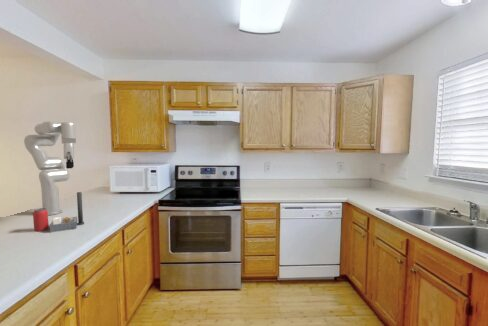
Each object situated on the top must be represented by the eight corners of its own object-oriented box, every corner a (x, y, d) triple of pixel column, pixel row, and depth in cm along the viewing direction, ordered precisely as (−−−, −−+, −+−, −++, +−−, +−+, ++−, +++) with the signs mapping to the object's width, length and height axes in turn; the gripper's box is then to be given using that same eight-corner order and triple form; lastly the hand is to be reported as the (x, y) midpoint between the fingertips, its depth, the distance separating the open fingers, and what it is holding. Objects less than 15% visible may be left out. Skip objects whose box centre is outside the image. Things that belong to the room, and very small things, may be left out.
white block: (54, 222, 142) (54, 217, 142) (60, 221, 143) (60, 216, 143) (53, 224, 138) (53, 219, 138) (60, 223, 140) (59, 218, 140)
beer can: (31, 232, 138) (30, 211, 137) (37, 228, 144) (36, 208, 143) (45, 231, 139) (44, 210, 138) (51, 227, 146) (49, 207, 145)
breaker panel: (53, 226, 148) (52, 217, 147) (77, 222, 154) (76, 214, 154) (50, 232, 138) (49, 222, 137) (76, 228, 144) (75, 219, 143)
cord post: (77, 223, 152) (75, 192, 151) (84, 222, 154) (82, 191, 153) (77, 225, 149) (75, 193, 148) (84, 224, 151) (82, 192, 150)
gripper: (63, 141, 163) (64, 166, 165) (60, 141, 149) (61, 169, 150) (76, 141, 167) (77, 166, 168) (75, 141, 152) (76, 168, 154)
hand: (70, 167), depth 159 cm, fingers open, 9 cm apart
